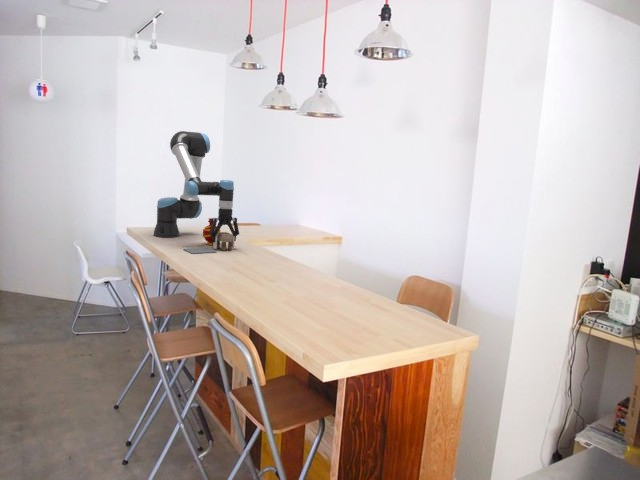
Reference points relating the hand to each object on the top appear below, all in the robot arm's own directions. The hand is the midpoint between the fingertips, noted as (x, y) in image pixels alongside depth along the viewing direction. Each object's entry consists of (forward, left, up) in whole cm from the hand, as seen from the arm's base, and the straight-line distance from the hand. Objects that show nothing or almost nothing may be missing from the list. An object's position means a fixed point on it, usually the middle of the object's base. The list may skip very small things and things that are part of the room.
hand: (223, 247), depth 272 cm
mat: (+2, -15, -1) cm, 15 cm away
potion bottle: (-16, 0, -1) cm, 16 cm away
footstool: (0, 0, -1) cm, 1 cm away
